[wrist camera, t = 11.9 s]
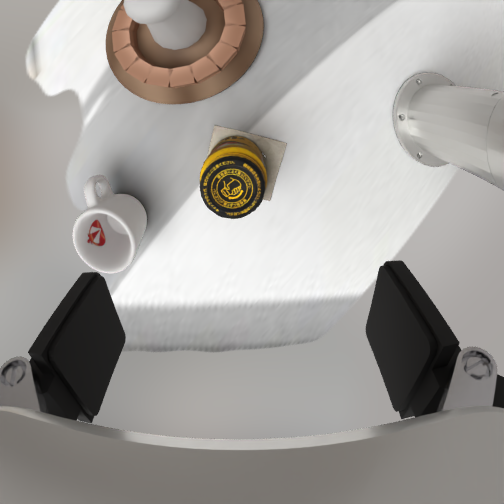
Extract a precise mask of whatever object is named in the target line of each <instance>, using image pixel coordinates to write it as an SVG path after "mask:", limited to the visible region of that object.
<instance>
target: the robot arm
mask: <svg viewBox="0 0 504 504" xmlns="http://www.w3.org/2000/svg"><path fill="white" fill-rule="evenodd" d="M416 82H417V83H416ZM399 115H400V118H399ZM393 121H394V128H395V131H396V134H397V137H398V139H399V142H400V144H401V145H402V147H403V148H404V150H405V151H406V152H407V153H408V154H409V155H410V156H411V157H412V158H413V159H415V160H416V161H418V162H420V163H422V164H424V165H428V166H432V167H439V166H444V165H447V164H449V163H450V164H453V165H455V166H457V167H459V168H461V169H463V170H465V171H468V172H470V173H472V174H473V175H476V176H477V177H480V178H481V179H484V180H485V181H487V182H489V183H491V184H493V185H495V186H496V187H498V188H500V189H502V190H504V91H497V90H490V89H482V88H473V87H462V86H456V85H455V84H454V83H452V82H451V81H450V80H449V79H447V78H445V77H444V76H442V75H439V74H435V73H421V74H418V75H415V76H413V77H411V78H410V79H408V80H407V81H406V82H405V83H404V84H403V85H402V87H401V88H400V90H399V91H398V94H397V96H396V99H395V103H394V108H393ZM417 153H418V154H417ZM366 335H367V338H368V341H369V343H370V346H371V348H372V351H373V353H374V356H375V359H376V361H377V364H378V366H379V369H380V372H381V375H382V377H383V380H384V383H385V386H386V388H387V391H388V394H389V397H390V400H391V402H392V405H393V408H394V410H395V411H396V412H397V411H399V413H400V416H401V419H404V418H408V417H412V416H415V418H411V419H407V420H403V421H398V422H394V423H389V424H384V425H379V426H373V427H368V428H363V429H357V430H351V431H345V432H338V433H330V434H322V435H313V436H304V437H291V438H275V439H242V440H241V439H238V440H237V439H236V440H235V439H234V440H233V439H232V440H231V439H229V440H228V439H199V438H184V437H172V436H163V435H162V436H161V435H154V434H145V433H138V432H131V431H125V430H119V429H113V428H108V427H103V426H97V425H93V424H88V423H92V421H93V418H94V416H96V415H97V414H98V412H99V410H100V407H101V404H102V401H103V398H104V396H105V393H106V390H107V387H108V385H109V382H110V379H111V377H112V374H113V371H114V369H115V366H116V364H117V361H118V359H119V356H120V354H121V351H122V348H123V346H124V344H125V332H124V330H123V327H122V325H121V322H120V320H119V317H118V314H117V312H116V309H115V307H114V304H113V301H112V298H111V295H110V293H109V290H108V287H107V284H106V281H105V279H104V277H102V276H101V275H100V274H99V273H97V272H89V273H82V274H81V276H80V277H79V278H78V280H77V281H76V282H75V284H74V285H73V287H72V288H71V289H70V290H69V292H68V293H67V295H66V296H65V297H64V299H63V300H62V301H61V303H60V305H59V306H58V307H57V309H56V310H55V311H54V313H53V314H52V316H51V317H50V319H49V320H48V322H47V323H46V325H45V326H44V328H43V329H42V331H41V332H40V334H39V335H38V337H37V338H36V340H35V342H34V343H33V345H32V347H31V348H30V350H29V351H28V353H29V355H30V356H31V360H30V362H29V361H28V360H27V359H26V358H24V357H14V358H11V359H10V360H8V361H7V362H6V363H4V364H3V366H2V367H1V368H0V504H504V377H502V376H500V375H497V365H496V362H495V360H494V359H493V357H492V356H491V355H490V354H489V353H488V352H487V351H485V350H483V349H481V348H478V347H467V348H464V349H463V350H461V349H460V347H459V346H458V345H459V341H458V340H457V338H456V336H455V335H454V333H453V332H452V330H451V329H450V327H449V326H448V325H447V323H446V321H445V320H444V318H443V317H442V315H441V314H440V312H439V311H438V309H437V308H436V306H435V305H434V304H433V302H432V301H431V299H430V298H429V296H428V295H427V293H426V292H425V291H424V289H423V288H422V287H421V285H420V284H419V282H418V281H417V280H416V278H415V277H414V276H413V274H412V273H411V272H410V270H409V269H408V268H407V266H406V265H405V264H404V262H403V261H386V262H385V263H384V266H381V267H380V268H379V272H378V277H377V281H376V287H375V291H374V295H373V299H372V304H371V308H370V312H369V316H368V320H367V324H366ZM77 419H78V420H80V421H84V422H88V423H84V422H79V421H76V420H77Z"/></svg>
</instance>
